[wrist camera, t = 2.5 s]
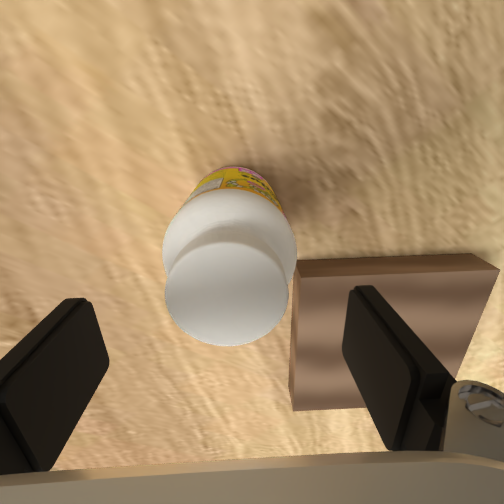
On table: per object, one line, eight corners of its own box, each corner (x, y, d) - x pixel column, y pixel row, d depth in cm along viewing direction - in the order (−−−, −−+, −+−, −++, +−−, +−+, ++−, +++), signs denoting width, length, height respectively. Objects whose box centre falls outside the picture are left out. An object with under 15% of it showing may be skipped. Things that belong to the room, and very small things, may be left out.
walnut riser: (294, 260, 24) (301, 277, 21) (471, 253, 24) (500, 269, 22) (288, 386, 31) (293, 411, 28) (427, 379, 31) (444, 403, 28)
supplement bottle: (290, 219, 22) (344, 322, 11) (223, 258, 24) (207, 387, 12) (247, 146, 20) (257, 176, 8) (175, 194, 21) (96, 278, 10)
